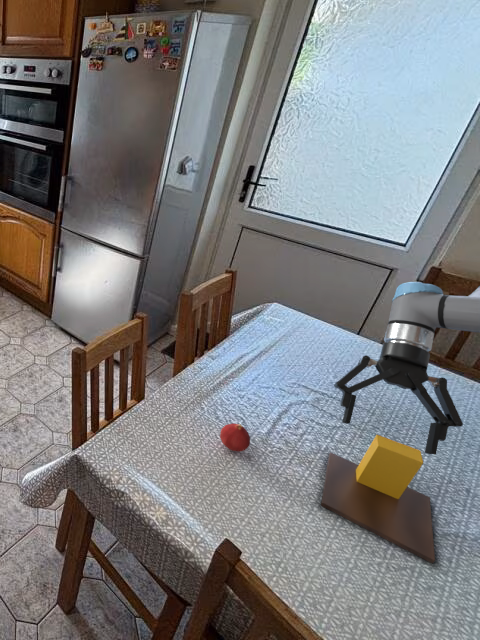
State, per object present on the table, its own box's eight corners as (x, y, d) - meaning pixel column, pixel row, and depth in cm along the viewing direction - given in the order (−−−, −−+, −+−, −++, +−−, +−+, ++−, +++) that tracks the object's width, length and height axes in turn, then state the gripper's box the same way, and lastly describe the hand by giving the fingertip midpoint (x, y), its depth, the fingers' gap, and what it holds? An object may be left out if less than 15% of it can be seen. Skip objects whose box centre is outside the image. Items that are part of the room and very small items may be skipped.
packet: (396, 486, 86) (420, 450, 81) (398, 499, 84) (423, 463, 79) (355, 469, 90) (376, 434, 85) (356, 481, 87) (378, 445, 83)
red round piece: (218, 434, 100) (226, 410, 97) (246, 445, 97) (255, 421, 93) (215, 451, 96) (223, 426, 92) (244, 463, 93) (254, 439, 89)
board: (427, 500, 84) (429, 497, 84) (432, 564, 74) (435, 560, 74) (328, 454, 94) (330, 451, 94) (320, 505, 84) (322, 502, 83)
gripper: (477, 371, 90) (459, 467, 86) (331, 332, 104) (310, 412, 100) (498, 366, 84) (480, 468, 80) (340, 324, 98) (318, 410, 94)
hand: (386, 437), depth 90 cm, fingers open, 13 cm apart
